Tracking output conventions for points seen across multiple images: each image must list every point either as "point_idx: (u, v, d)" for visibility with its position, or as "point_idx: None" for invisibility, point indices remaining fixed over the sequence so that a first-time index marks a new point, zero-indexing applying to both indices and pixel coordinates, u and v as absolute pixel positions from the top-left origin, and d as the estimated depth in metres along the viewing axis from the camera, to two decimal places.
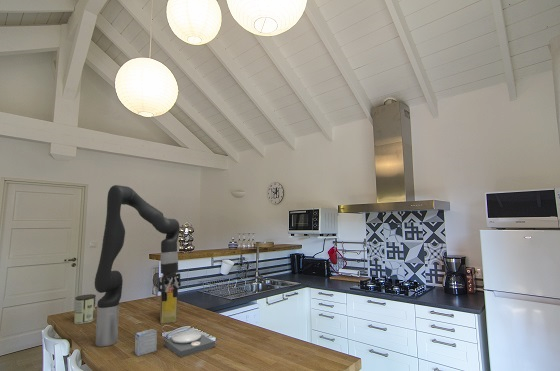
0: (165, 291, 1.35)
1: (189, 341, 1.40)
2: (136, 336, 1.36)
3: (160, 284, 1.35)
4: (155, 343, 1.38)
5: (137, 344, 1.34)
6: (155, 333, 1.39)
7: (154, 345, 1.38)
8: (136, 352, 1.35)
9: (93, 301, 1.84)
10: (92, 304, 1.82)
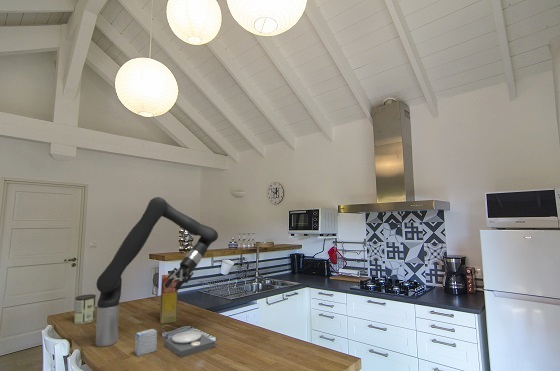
0: None
1: (189, 341, 1.40)
2: (136, 336, 1.36)
3: (188, 276, 1.49)
4: (155, 343, 1.38)
5: (137, 344, 1.34)
6: (155, 333, 1.39)
7: (154, 345, 1.38)
8: (136, 352, 1.35)
9: (93, 301, 1.84)
10: (92, 304, 1.82)
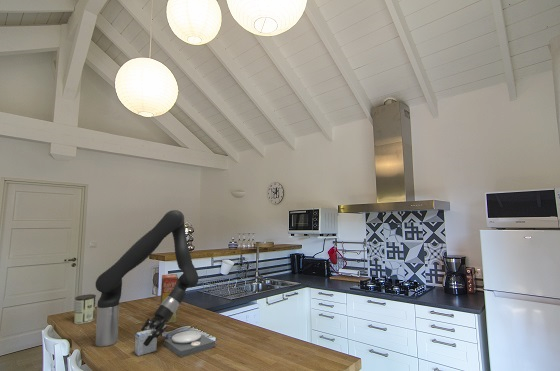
0: None
1: (189, 341, 1.40)
2: (136, 336, 1.36)
3: (160, 331, 1.37)
4: (155, 343, 1.38)
5: (137, 344, 1.34)
6: None
7: (154, 345, 1.38)
8: (136, 352, 1.35)
9: (93, 301, 1.84)
10: (92, 304, 1.82)
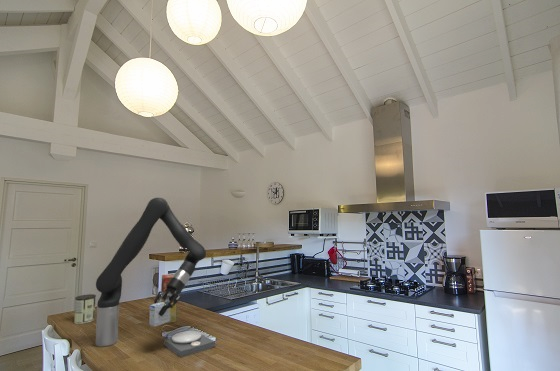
0: (168, 308, 1.40)
1: (189, 341, 1.40)
2: (151, 307, 1.38)
3: (174, 301, 1.40)
4: (169, 314, 1.42)
5: (153, 315, 1.37)
6: None
7: (168, 316, 1.41)
8: (152, 323, 1.37)
9: (93, 301, 1.84)
10: (92, 304, 1.82)
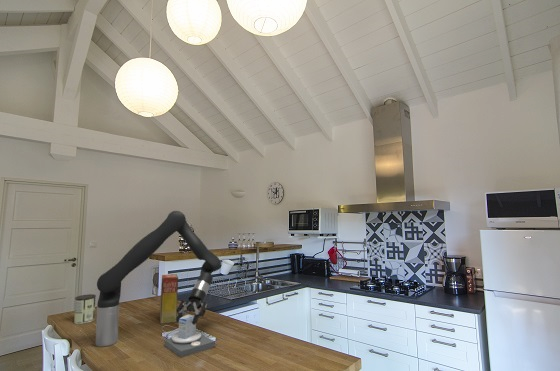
0: (199, 316, 1.47)
1: (189, 341, 1.40)
2: (181, 321, 1.43)
3: (204, 309, 1.48)
4: (195, 326, 1.48)
5: (183, 328, 1.42)
6: None
7: (194, 328, 1.48)
8: (182, 336, 1.42)
9: (93, 301, 1.84)
10: (92, 304, 1.82)
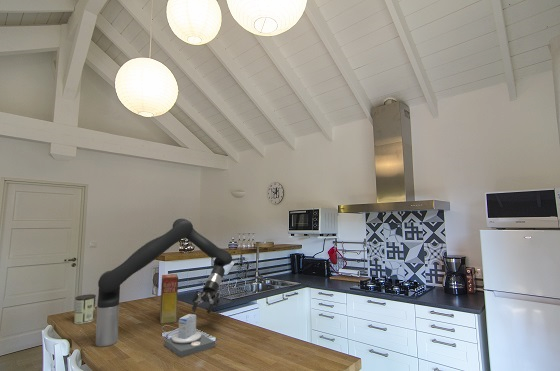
0: (213, 306, 1.60)
1: (189, 341, 1.40)
2: (181, 321, 1.43)
3: (218, 299, 1.61)
4: (195, 326, 1.48)
5: (183, 328, 1.42)
6: (195, 316, 1.49)
7: (194, 328, 1.48)
8: (182, 336, 1.42)
9: (93, 301, 1.84)
10: (92, 304, 1.82)
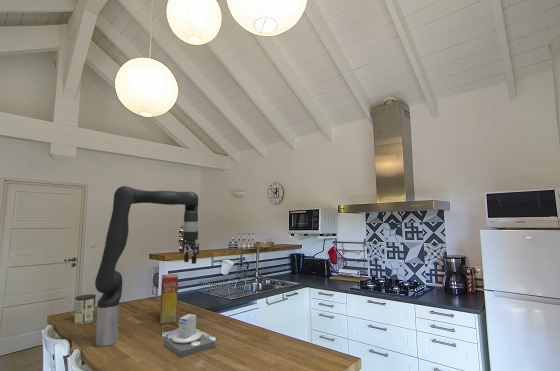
0: None
1: (189, 341, 1.40)
2: (181, 321, 1.43)
3: (196, 248, 1.54)
4: (195, 326, 1.48)
5: (183, 328, 1.42)
6: (195, 316, 1.49)
7: (194, 328, 1.48)
8: (182, 336, 1.42)
9: (93, 301, 1.84)
10: (92, 304, 1.82)
